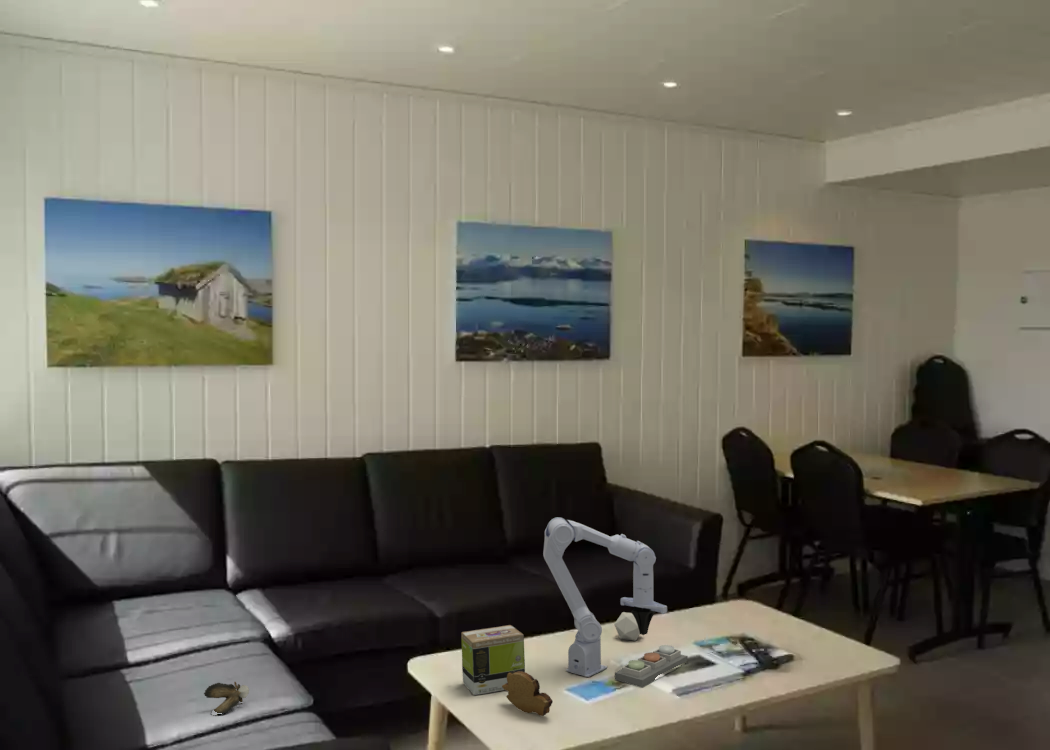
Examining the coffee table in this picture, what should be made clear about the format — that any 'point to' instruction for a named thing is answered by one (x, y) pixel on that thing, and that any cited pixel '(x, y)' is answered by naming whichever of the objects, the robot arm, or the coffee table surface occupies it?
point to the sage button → (636, 665)
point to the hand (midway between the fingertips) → (643, 633)
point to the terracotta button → (652, 657)
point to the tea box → (491, 657)
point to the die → (627, 627)
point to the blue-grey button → (666, 649)
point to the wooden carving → (526, 693)
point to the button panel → (650, 669)
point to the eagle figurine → (227, 695)
